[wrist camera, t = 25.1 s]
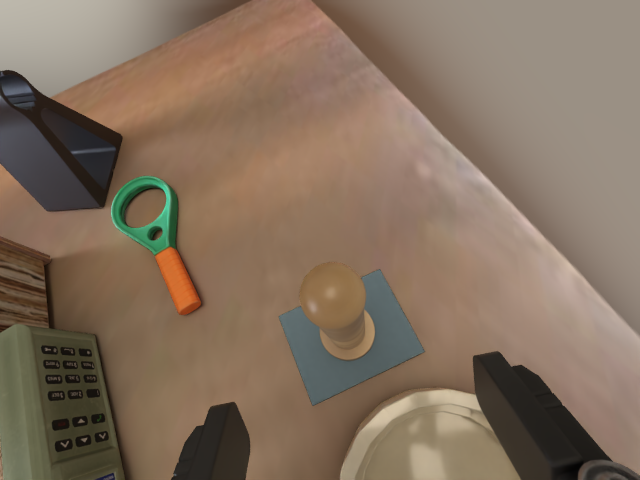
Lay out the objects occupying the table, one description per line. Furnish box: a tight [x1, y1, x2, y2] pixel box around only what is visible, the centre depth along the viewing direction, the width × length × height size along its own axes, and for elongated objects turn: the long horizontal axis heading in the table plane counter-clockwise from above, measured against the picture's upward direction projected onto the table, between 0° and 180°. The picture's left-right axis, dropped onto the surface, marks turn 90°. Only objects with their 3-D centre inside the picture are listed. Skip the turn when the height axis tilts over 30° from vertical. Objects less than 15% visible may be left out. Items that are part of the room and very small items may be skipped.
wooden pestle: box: [299, 262, 375, 361], centre depth 19 cm, size 4×4×14 cm
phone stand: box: [0, 70, 122, 211], centre depth 30 cm, size 9×6×12 cm, turn 0°
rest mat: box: [279, 269, 425, 406], centre depth 26 cm, size 9×7×1 cm
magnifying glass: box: [111, 176, 201, 315], centre depth 30 cm, size 15×6×2 cm, turn 33°
